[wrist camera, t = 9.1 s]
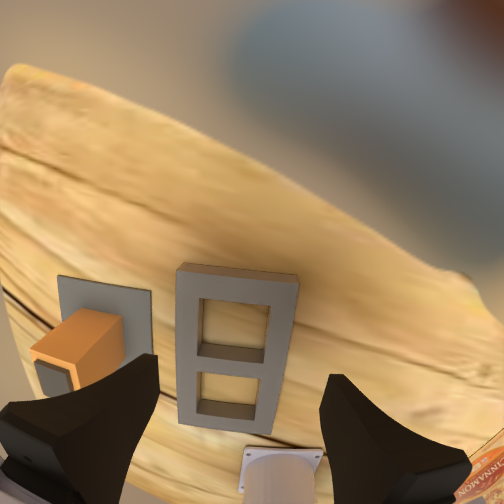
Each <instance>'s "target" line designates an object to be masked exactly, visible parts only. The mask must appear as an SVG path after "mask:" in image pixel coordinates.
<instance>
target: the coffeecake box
mask: <svg viewBox="0 0 504 504" xmlns="http://www.w3.org/2000/svg"><path fill="white" fill-rule="evenodd" d="M469 460H470V462H471V463H472V467H473V468H472V471H471V473H470V475H469V477H468V478H467V479H466V481H465V482H464V483H463V484H462V485H461V486H460V487H459V489H458V490H457V491H456V492H455V493H454V495H455V498H456V501H455V502H454V503H453V504H464V503H466V502H469V501H471V500H473V499H476V498H478V497H480V496H483V498H484V499H485V501H486V503H487V504H504V429H503V430H502V431H500V432H499V433H498V434H497V435H496V436H495V437H494V438H493V439H491V440H490V441H489V442H488V443H487V444H486V445H484V446H483V447H482V448H481V449H480V450H478V451H477V452H476V453H475V454H473V455H472V456H471V457H469Z"/></svg>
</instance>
